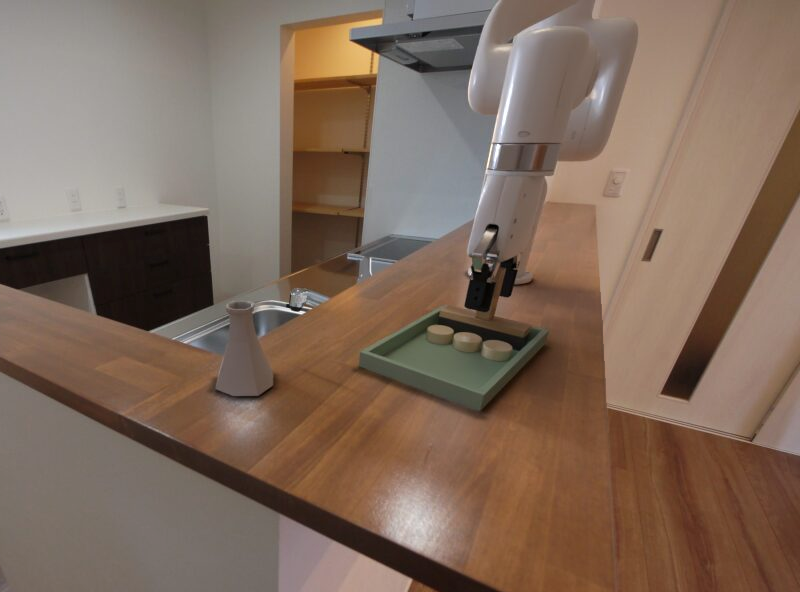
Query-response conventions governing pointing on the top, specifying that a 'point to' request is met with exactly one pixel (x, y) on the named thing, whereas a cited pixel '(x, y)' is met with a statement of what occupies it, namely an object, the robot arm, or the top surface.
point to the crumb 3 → (496, 350)
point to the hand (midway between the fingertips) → (488, 301)
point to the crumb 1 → (439, 334)
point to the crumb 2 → (467, 342)
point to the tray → (446, 363)
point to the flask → (243, 355)
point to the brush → (487, 321)
